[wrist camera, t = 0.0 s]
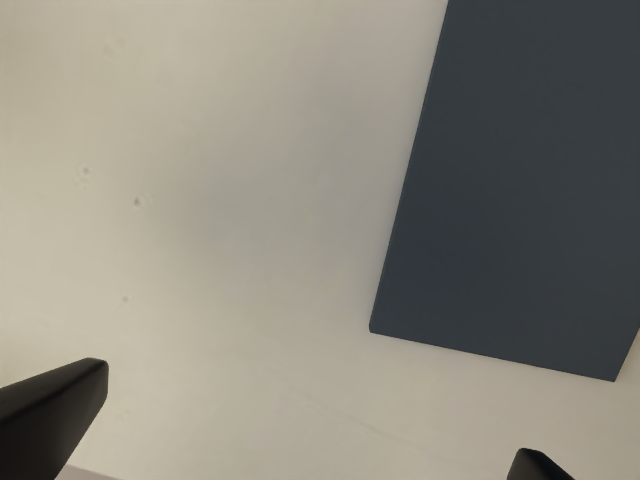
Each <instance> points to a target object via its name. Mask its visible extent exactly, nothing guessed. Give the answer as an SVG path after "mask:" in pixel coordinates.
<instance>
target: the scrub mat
mask: <svg viewBox="0 0 640 480" xmlns="http://www.w3.org/2000/svg"><path fill="white" fill-rule="evenodd" d="M639 327H640V0H449V2H448V6H447V10H446V14H445V18H444V22H443V26H442V30H441V34H440V38H439V42H438V46H437V51H436V55H435V59H434V63H433V67H432V71H431V75H430V79H429V83H428V87H427V91H426V95H425V99H424V103H423V108H422V112H421V116H420V120H419V124H418V128H417V132H416V136H415V140H414V144H413V148H412V152H411V156H410V160H409V165H408V169H407V173H406V177H405V181H404V185H403V189H402V193H401V197H400V201H399V205H398V209H397V213H396V217H395V222H394V226H393V230H392V234H391V238H390V242H389V246H388V250H387V254H386V258H385V262H384V266H383V270H382V275H381V279H380V283H379V287H378V291H377V295H376V299H375V303H374V307H373V311H372V315H371V319H370V323H369V330H370V332H371V333H376V334H380V335H385V336H390V337H395V338H400V339H405V340H410V341H415V342H420V343H425V344H430V345H434V346H439V347H444V348H449V349H454V350H459V351H464V352H469V353H474V354H479V355H483V356H488V357H493V358H498V359H503V360H508V361H513V362H518V363H523V364H528V365H532V366H537V367H542V368H547V369H552V370H557V371H562V372H567V373H572V374H577V375H581V376H586V377H591V378H596V379H601V380H606V381H611V382H615V380H616V378H617V375H618V373H619V371H620V369H621V367H622V365H623V362H624V360H625V358H626V356H627V354H628V351H629V349H630V347H631V345H632V343H633V341H634V338H635V336H636V334H637V332H638V330H639Z"/></svg>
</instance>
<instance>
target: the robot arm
mask: <svg viewBox="0 0 640 480" xmlns="http://www.w3.org/2000/svg"><path fill="white" fill-rule="evenodd" d="M108 372H109V366H108V363H107V362H106V361H104V360H100V359H95V358H85V359H82V360H79V361H76V362H73V363H71V364H68V365H65V366H62V367H59V368H56V369H54V370H51V371H48V372H45V373H42V374H40V375H37V376H34V377H31V378H28V379H26V380H23V381H20V382H17V383H14V384H11V385H9V386H6V387H3V388H0V480H54V479H55V478H56V476H57V475H58V474H59V472H60V471H61V469H62V468H63V466H64V465H65V463H66V462H67V461H68V459H69V457H70V456H71V454H72V453H73V451H74V450H75V448H76V447H77V445H78V443H79V442H80V440H81V439H82V437H83V436H84V434H85V433H86V431H87V429H88V428H89V426H90V425H91V423H92V422H93V420H94V419H95V417H96V415H97V414H98V412H99V411H100V409H101V408H102V406H103V404H104V402H105V400H106V398H107V393H108ZM507 480H575V479H574V478H572V477H571V476H570V475H569V474H568V473H566V472H565V471H564V470H563V469H562V468H560V467H559V466H558V465H557V464H556V463H555V462H553V461H552V460H551V459H550V458H549V457H547V456H546V455H545V454H544V453H542V452H540V451H537V450H532V449H527V448H521V449H519V450H518V451H517V453H516V456H515V458H514V461H513V463H512V466H511V468H510V471H509V473H508V476H507Z"/></svg>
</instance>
